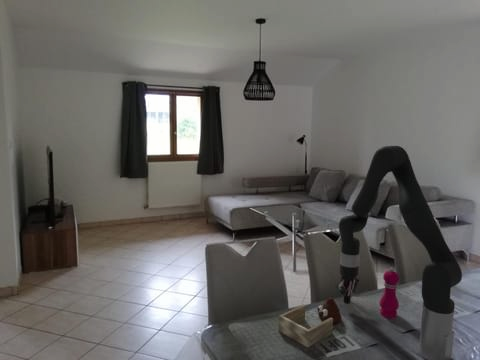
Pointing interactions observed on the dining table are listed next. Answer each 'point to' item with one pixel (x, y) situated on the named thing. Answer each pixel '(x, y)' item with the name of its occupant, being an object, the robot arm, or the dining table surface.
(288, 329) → the birch holder
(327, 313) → the poop emoji
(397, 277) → the pepper mill
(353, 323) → the dining table surface
